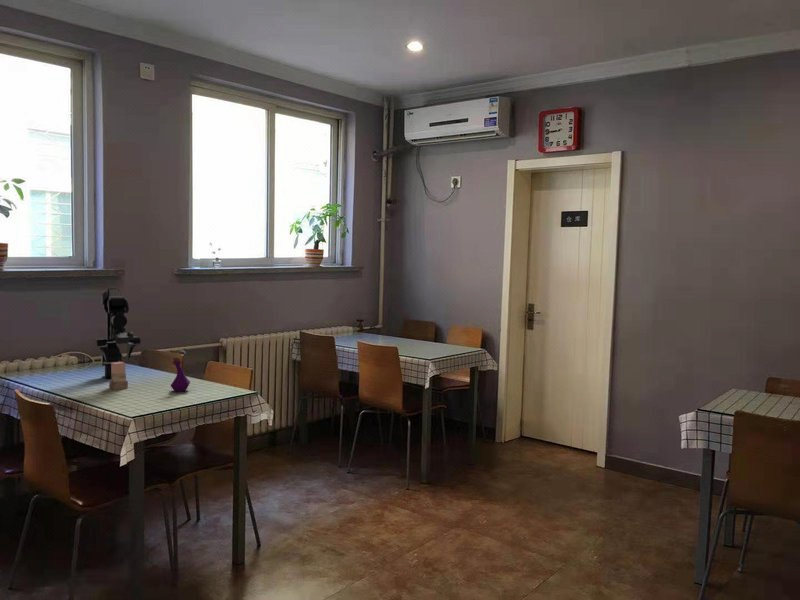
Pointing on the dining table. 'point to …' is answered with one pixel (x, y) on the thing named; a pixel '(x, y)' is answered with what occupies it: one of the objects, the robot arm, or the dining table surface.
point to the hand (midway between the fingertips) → (117, 360)
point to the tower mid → (118, 377)
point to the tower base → (118, 385)
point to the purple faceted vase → (179, 377)
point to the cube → (118, 368)
